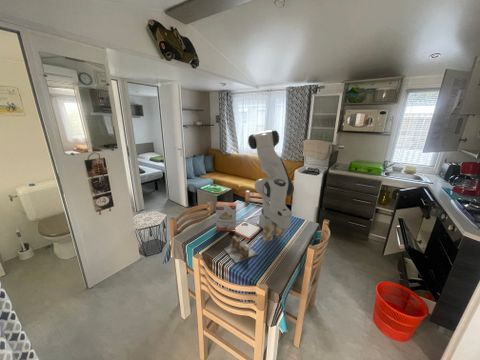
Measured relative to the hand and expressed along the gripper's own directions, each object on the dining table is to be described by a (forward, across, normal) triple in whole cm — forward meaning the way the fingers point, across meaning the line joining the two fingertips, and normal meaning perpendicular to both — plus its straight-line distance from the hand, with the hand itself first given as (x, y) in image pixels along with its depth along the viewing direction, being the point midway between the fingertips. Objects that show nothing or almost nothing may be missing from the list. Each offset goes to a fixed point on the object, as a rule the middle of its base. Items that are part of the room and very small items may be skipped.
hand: (274, 227), depth 120 cm
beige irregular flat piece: (+7, 0, 0) cm, 7 cm away
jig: (+17, -10, -18) cm, 27 cm away
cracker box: (+19, -37, -13) cm, 43 cm away
